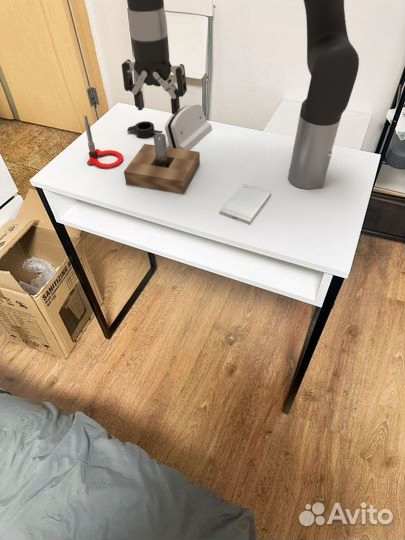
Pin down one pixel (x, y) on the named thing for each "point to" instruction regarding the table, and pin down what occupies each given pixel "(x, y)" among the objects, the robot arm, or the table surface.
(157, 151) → the pin
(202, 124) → the grey rounded slab
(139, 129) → the black rounded piece
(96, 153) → the tow hook
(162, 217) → the table surface
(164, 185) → the wooden square frame
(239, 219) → the hard drive
